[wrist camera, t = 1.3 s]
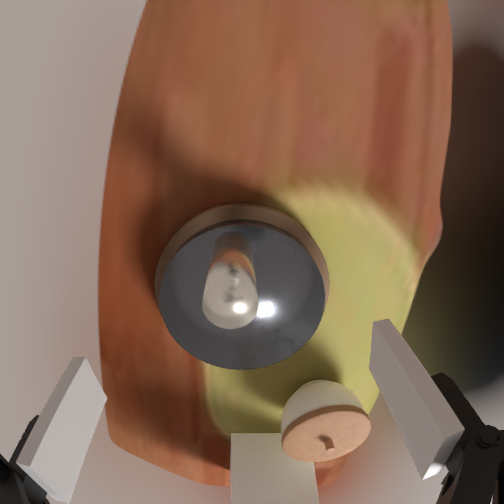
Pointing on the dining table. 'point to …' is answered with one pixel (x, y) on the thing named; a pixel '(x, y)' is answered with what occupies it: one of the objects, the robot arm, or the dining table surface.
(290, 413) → the lidded jar
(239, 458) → the milk
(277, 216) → the wheel base
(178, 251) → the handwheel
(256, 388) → the dining table surface
